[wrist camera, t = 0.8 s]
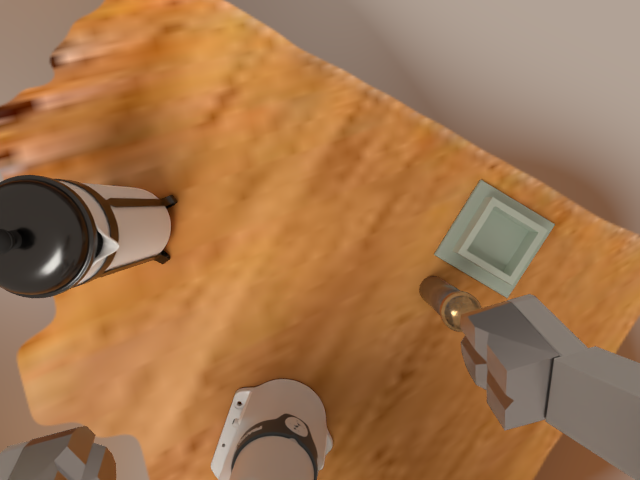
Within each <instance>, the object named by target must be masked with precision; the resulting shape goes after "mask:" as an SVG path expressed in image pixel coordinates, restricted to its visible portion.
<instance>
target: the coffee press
mask: <svg viewBox="0 0 640 480" xmlns="http://www.w3.org/2000/svg"><path fill="white" fill-rule="evenodd" d="M62 181H65V182H62ZM176 203H177V200H176V199H175V197H174V196H173V195H170V196H168V197H165V198H163V199H159V198H157V197H156V196H155V195H154V194H152V193H150V192H148V191H146V190H143V189H140V188H133V187H123V186H115V185H113V186H111V185H99V184H87V183H80V182H76V181H72V180H62V179H52V178H48V177H44V176H35V175H22V176H16V177H12V178H9V179H6V180H4V181H2V182H0V287H1V288H3V289H5V290H6V291H9V292H11V293H13V294H16V295H19V296H22V297H28V298H46V297H51V296H54V295H57V294H60V293H63V292H65V291H67V290H69V289H71V288H73V287H76V286H79V285H82V284H85V283H88V282H90V281H92V280H94V279H96V278H98V277H103V276H106V275H109V274H112V273H115V272H118V271H121V270H125V269H128V268H131V267H134V266H137V265H140V264H143V263H146V262H149V261H152V260H155V261H157V262H159V263H161V264H164V263H165V262H167V261H168V260H170V256H169V255H168V254H167V253H166V252H165V251H163V249H164V247H165V246H166V244H167V242H168V240H169V237H170V232H171V221H170V216H169V213H168V211H167V209H168V208H169V207H171V206H173V205H175V204H176ZM82 282H83V283H82ZM79 283H81V284H79Z"/></svg>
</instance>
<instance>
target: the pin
mask: <svg viewBox="0 0 640 480" xmlns="http://www.w3.org/2000/svg"><path fill="white" fill-rule="evenodd" d="M419 290H420V295H421V297H422V298H423V299H424V300H425V301H426V302H427V303H428V304H429V305H430V306H431V307H432V308H433V309H434V310H435V311H436V312H437V313H438V314H439V315H440V317H441V319H442V321H443V322H444V323H445V324H446V325H447V326H448V327H449V328H450V329H452V330H454V331H458V332H463V331H462V330H461V328H460V318H461V315H462V314H464V313H468V312H471V311H474V310H477V309H481V306H480V303H479V302H478V300H477V299H476V298H475V297H474V296H472V295H471V294H469V293H467V292H463V291H460V290H458V289H457V288H455V287H453V286H452V285H450V284H449V283H447V282H446V281H444V280H443V279H441V278H439V277H437V276H430V277H427V278H426V279H424V280H423V281H422V283H421V285H420V289H419Z"/></svg>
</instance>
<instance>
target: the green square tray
mask: <svg viewBox="0 0 640 480" xmlns="http://www.w3.org/2000/svg"><path fill="white" fill-rule="evenodd" d="M554 225H555V224H553V223H552V222H550V221H548V220H547V219H545V218H543V217H542V216H540V215H539V214H537V213H535V212H534V211H532V210H530V209H529V208H527V207H525V206H524V205H522V204H520V203H519V202H517V201H515V200H514V199H512V198H510V197H509V196H507V195H505V194H504V193H502V192H500V191H499V190H497V189H495V188H494V187H492V186H490V185H489V184H487V183H485V182H484V181H482V180H480V181H479V182H478V184H477V186H476V187H475V189H474V190H473V192H472V194H471V195H470V197H469V198H468V200H467V202H466V203H465V205H464V207H463V208H462V210H461V211H460V213H459V215H458V216H457V218H456V219H455V221H454V223H453V224H452V226H451V227H450V229H449V231H448V232H447V234H446V236H445V237H444V239H443V240H442V242H441V244H440V245H439V247H438V248H437V250H436V252H435V253H434V255H435V256H437V257H439V258H440V259H442V260H444V261H446V262H447V263H449V264H451V265H452V266H454V267H456V268H457V269H459V270H461V271H462V272H464V273H466V274H467V275H469V276H471V277H473V278H474V279H476V280H478V281H479V282H481V283H483V284H484V285H486V286H488V287H489V288H491V289H493V290H495V291H496V292H498V293H500V294H501V295H503V296H505V297H506V298H508V297H509V295H510V293H511V292H512V290H513V289H514V287H515V286H516V284H517V283H518V281H519V280H520V278H521V276H522V275H523V273H524V272H525V270H526V269H527V267H528V266H529V264H530V263H531V261H532V259H533V258H534V256H535V255H536V253H537V252H538V250H539V249H540V247H541V245H542V244H543V242H544V241H545V239H546V238H547V236H548V235H549V233H550V232H551V230H552V228H553V227H554Z"/></svg>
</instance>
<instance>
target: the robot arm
mask: <svg viewBox="0 0 640 480" xmlns="http://www.w3.org/2000/svg"><path fill="white" fill-rule="evenodd" d="M460 328H461V330H462V331H463V333H464V334H465V337H464V338H463V340H462V341H461V349H462V355H463V358H464V362H465V365H466V367H467V369H468V371H469V374H470V375H471V377H472V379H473V380H474V382H475V384H476V385H478V386H480V387H482V388H483V389H485V390H487V403H488V405H489V406H490V408H491V410H492V411H493V413H494V414H495V416H496V418H497V419H498V421H499V422H500V424H501V425H502V427H503V429H504V430H508V429H512V428H515V427H519V426H523V425H526V424H530V423H534V422H538V421H541V420H545V419H546V422H547V423H549V424H550V425H552V426H553V427H555V428H556V429H558V430H559V431H561V432H562V433H564V434H566V435H567V436H569V437H570V438H572V439H573V440H575V441H576V442H578V443H579V444H581V445H583V446H584V447H586V448H587V449H589V450H590V451H592V452H594V453H595V454H596V455H598V456H600V457H601V458H603V459H604V460H606V461H607V462H609V463H610V464H612V465H614V466H615V467H617V468H618V469H620V470H621V471H623V472H624V473H626V474H627V475H629V476H630V477H632V478H633V479H635V480H640V363H638V362H635V361H632V360H630V359H627V358H624V357H622V356H619V355H617V354H614V353H612V352H609V351H606V350H604V349H601V348H599V347H596V346H595V347H591V348H587V347H586V346H585V345H584V344H583V343H582V342H581V341H580V340H579V339H578V338H577V337H576V336H575V335H574V334H573V333H572V332H571V331H570V330H569V329H568V328H567V327H566V326H565V325H564V324H563V323H562V322H561V321H560V320H559V319H558V318H557V317H556V316H555V315H554V314H553V313H552V312H551V311H550V310H549V309H548V308H547V307H545V306H544V305H543V304H542V303H541V302H540V301H539V300H538V299H537V298H536V297H535V296H533V295H531V294H528V295H524V296H521V297H518V298H514V299H511V300H508V301H506V302H500V303H497V304H494V305H491V306H487V307H484V308H481V309H477V310H474V311H471V312H468V313H464V314H462V315H461V318H460ZM238 401H240V402H241V403H242V404H239V403H238ZM94 439H95V434H94V433H93V432H92V431H91V430H90V429H89V428H88V427H87V426H83V427H77V428H74V429H70V430H66V431H63V432H59V433H55V434H51V435H47V436H44V437H40V438H36V439H32V440H30V441H26V442H22V443H19V444H15V445H12V446H8V447H7V448H6V449H5V450H3V451H2V452H1V453H0V480H116V463H115V460H114V458H113V455H112V453H111V452H110V451H109V450H108V448H107V447H105V446H102V445H99V444H95V443H94ZM332 446H333V440H332V437H331V435H330V433H329V431H328V429H327V425H326V413H325V409H324V406H323V404H322V402H321V400H320V398H319V397H318V396H317V394H316V393H315V392H314V391H313V390H312V389H310V388H309V387H308V386H306V385H304V384H302V383H300V382H297V381H294V380H289V379H277V380H272V381H269V382H266V383H264V384H262V385H260V386H257V387H251V388H241V389H238V390H237V391H236V393H235V395H234V398H233V401H232V404H231V407H230V410H229V413H228V416H227V419H226V421H225V424H224V427H223V430H222V433H221V436H220V439H219V442H218V445H217V448H216V450H215V453H214V456H213V459H212V463H211V469H212V471H213V473H214V474H215V476H216V477H217V478H218V479H219V480H317V476H318V471H319V470H322V469H323V467H324V462H325V456H326V455H327V453H328V452H329V451H330V450H331V449H332Z"/></svg>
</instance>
